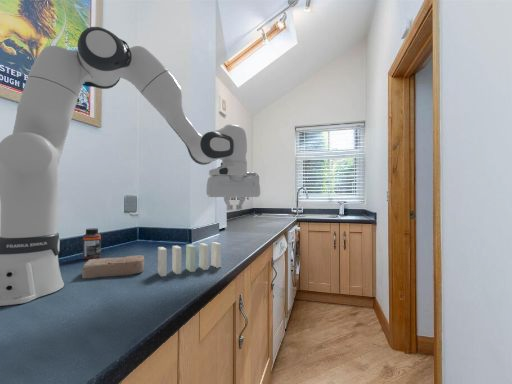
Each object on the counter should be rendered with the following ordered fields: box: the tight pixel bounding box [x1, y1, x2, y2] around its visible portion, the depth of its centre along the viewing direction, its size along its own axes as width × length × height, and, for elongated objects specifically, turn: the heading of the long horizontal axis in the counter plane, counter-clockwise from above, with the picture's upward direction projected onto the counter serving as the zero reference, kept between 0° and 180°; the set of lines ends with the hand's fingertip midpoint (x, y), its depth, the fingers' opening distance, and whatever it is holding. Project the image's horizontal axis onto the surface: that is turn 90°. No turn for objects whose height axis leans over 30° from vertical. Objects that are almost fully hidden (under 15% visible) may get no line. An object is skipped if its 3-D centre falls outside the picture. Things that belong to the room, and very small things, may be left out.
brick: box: [81, 254, 145, 279], centre depth 86 cm, size 17×8×5 cm, turn 109°
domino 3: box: [198, 242, 210, 271], centre depth 91 cm, size 2×5×8 cm, turn 32°
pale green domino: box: [185, 243, 197, 273], centre depth 89 cm, size 2×5×8 cm, turn 33°
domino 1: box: [157, 246, 168, 277], centre depth 84 cm, size 2×5×8 cm, turn 32°
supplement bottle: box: [82, 227, 102, 260], centre depth 105 cm, size 6×6×11 cm
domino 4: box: [210, 241, 222, 269], centre depth 93 cm, size 2×5×8 cm, turn 32°
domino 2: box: [171, 245, 183, 275], centre depth 86 cm, size 2×5×8 cm, turn 32°
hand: (234, 210), depth 97 cm, fingers open, 2 cm apart
